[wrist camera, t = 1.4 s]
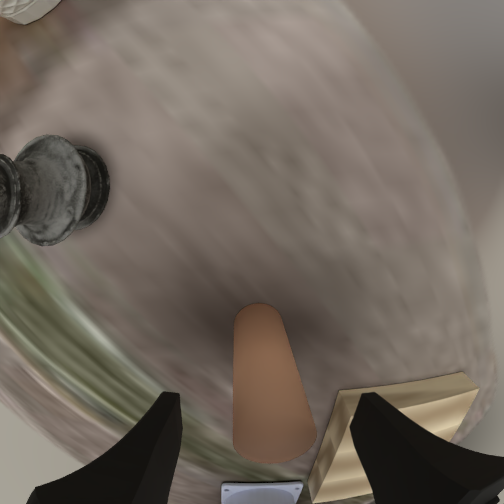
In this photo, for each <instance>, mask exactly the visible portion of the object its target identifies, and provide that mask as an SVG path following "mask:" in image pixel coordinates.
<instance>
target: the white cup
mask: <svg viewBox="0 0 504 504" xmlns="http://www.w3.org/2000/svg"><path fill="white" fill-rule="evenodd" d="M60 1H61V0H0V16H2V17H4V18H6V19H8V20H10V21H12V22H14V23H16V24H24V25H26V24H28V23H31V22H33V21H35V20H38V19H40V18H41V17H42V16H44V15H45V14H46V13H48V12H49V11H51V10H52V9H53V8H55V6H56V5H57V4H58V3H59V2H60Z"/></svg>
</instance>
